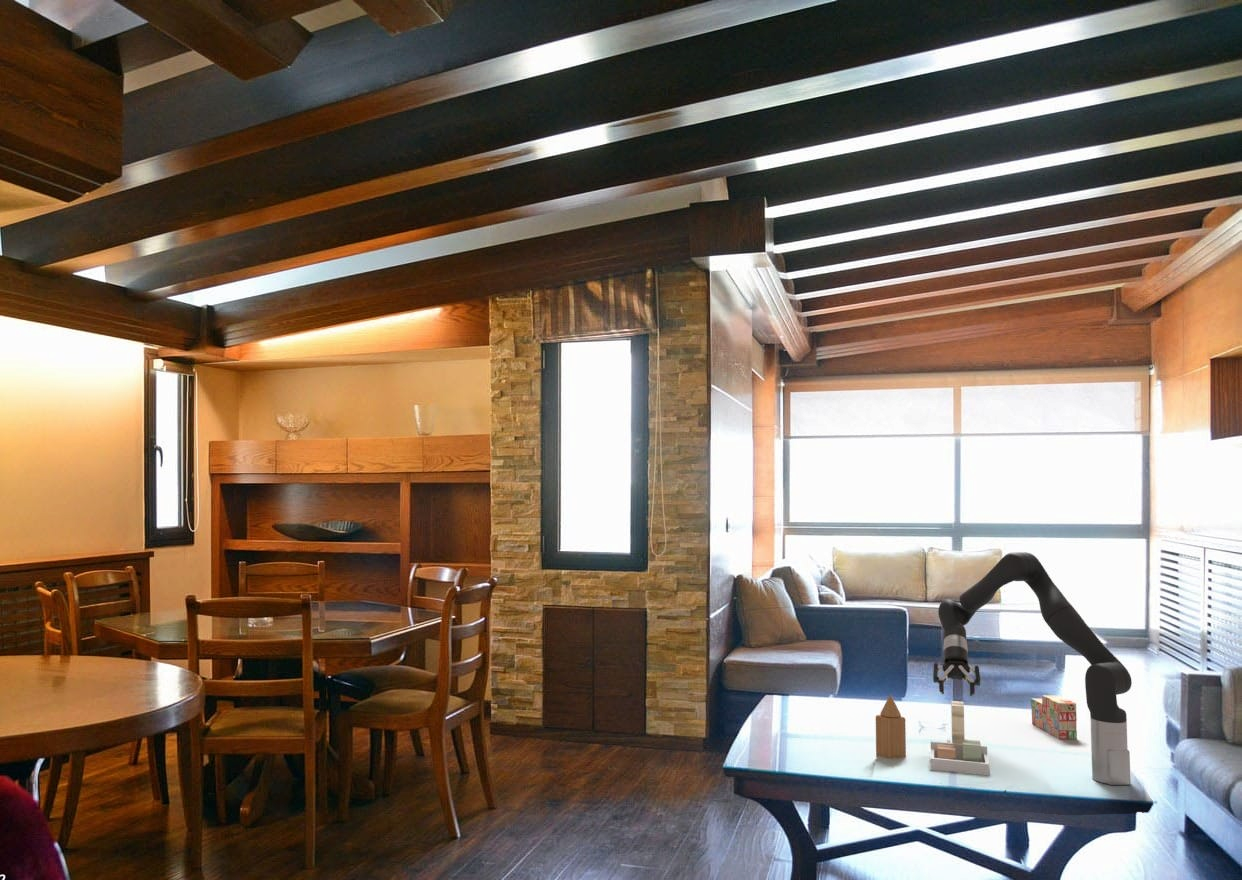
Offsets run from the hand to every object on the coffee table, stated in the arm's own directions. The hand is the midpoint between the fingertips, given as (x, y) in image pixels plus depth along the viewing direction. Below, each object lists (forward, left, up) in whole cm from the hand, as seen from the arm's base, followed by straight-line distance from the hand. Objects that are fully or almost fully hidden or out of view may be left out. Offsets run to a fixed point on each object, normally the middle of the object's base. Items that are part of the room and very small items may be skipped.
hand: (957, 693), depth 284 cm
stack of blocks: (+26, -48, -19) cm, 57 cm away
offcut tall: (-19, +5, -17) cm, 26 cm away
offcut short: (-16, +11, -17) cm, 26 cm away
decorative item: (-5, +24, -19) cm, 31 cm away
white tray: (-13, +6, -19) cm, 24 cm away
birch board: (-8, +4, -17) cm, 20 cm away
